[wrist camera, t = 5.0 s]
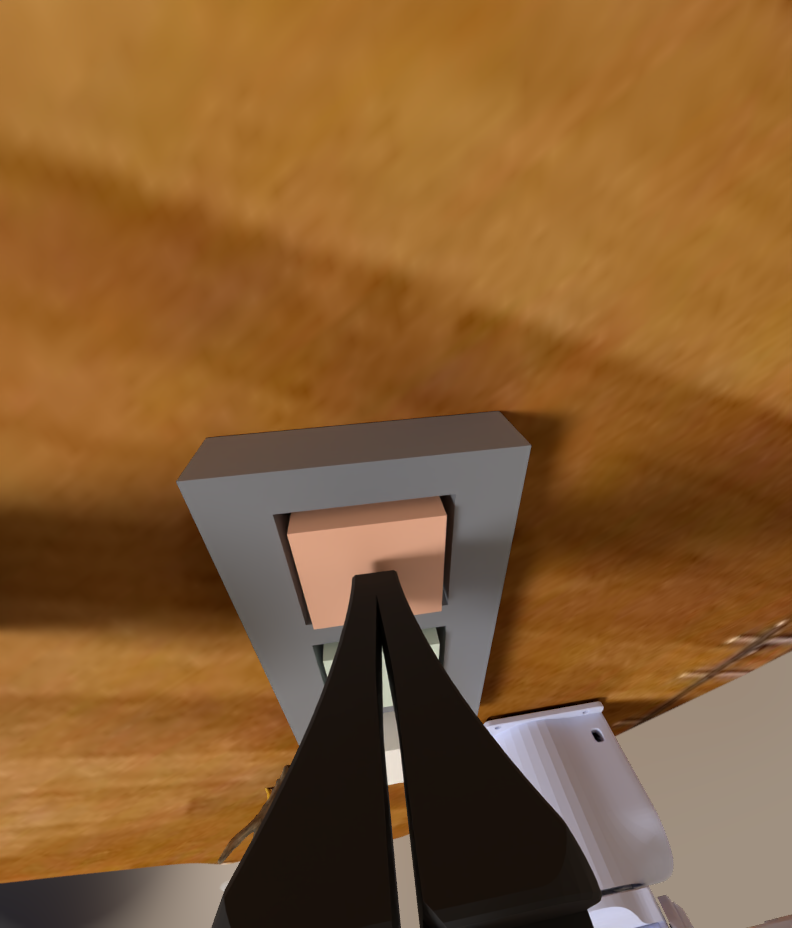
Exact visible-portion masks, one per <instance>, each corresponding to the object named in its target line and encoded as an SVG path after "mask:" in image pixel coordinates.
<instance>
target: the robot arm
mask: <svg viewBox="0 0 792 928" xmlns="http://www.w3.org/2000/svg"><path fill="white" fill-rule="evenodd" d="M382 648H383V654H384V659H385V665H386V670H387V675H388V681H389V686H390V691H391V697H392V702H393V707H394V713H395V718H396V724H397V730H398V737H399V745H400V753H401V762H402V771H403V780H404V789H405V798H406V807H407V816H408V824H409V833H410V842H411V851H412V860H413V869H414V877H415V887H416V896H417V905H418V914H419V924H420V928H669V927H668V925H667V923H666V920H665V918H664V916H663V914H662V912H661V910H660V908H659V906H658V904H657V902H656V900H655V898H654V896H653V893H652V891H651V889H650V888H649V885H653V884H657V883H661V882H664V881H666V880H668V879H669V878H670V877H671V875H672V872H673V856H672V851H671V848H670V844H669V841H668V838H667V836H666V833H665V830H664V828H663V825H662V823H661V820H660V819H659V816H658V814H657V812H656V810H655V808H654V806H653V804H652V802H651V801H650V799H649V797H648V795H647V793H646V792H645V790H644V788H643V786H642V784H641V783H640V781H639V779H638V777H637V775H636V774H635V772H634V770H633V768H632V766H631V765H630V763H629V761H628V759H627V757H626V756H625V754H624V752H623V750H622V748H621V747H620V745H619V743H618V741H617V739H616V738H615V736H614V734H613V732H612V730H611V729H610V727H609V725H608V723H607V721H606V720H605V718H604V716H603V714H602V710H603V708H604V707H603V705H602V703H601V702H599V701H597V702H591V703H585V704H579V705H574V706H568V707H562V708H557V709H551V710H545V711H540V712H534V713H528V714H523V715H517V716H511V717H506V718H500V719H494V720H489V721H487V722H485V723H484V725H483V723H482V722H481V721H480V719H479V718H478V717H477V716H476V714H475V713H474V711H473V710H472V709H471V707H470V706H469V704H468V703H467V702H466V700H465V699H464V698H463V696H462V695H461V693H460V692H459V690H458V689H457V687H456V686H455V684H454V683H453V681H452V680H451V678H450V677H449V675H448V674H447V672H446V671H445V669H444V668H443V666H442V664H441V663H440V661H439V659H438V658H437V656H436V654H435V653H434V651H433V649H432V648H431V646H430V644H429V643H428V641H427V639H426V637H425V635H424V634H423V632H422V630H421V628H420V626H419V624H418V622H417V620H416V618H415V616H414V614H413V612H412V610H411V608H410V606H409V604H408V601H407V599H406V597H405V594H404V592H403V589H402V587H401V584H400V581H399V578H398V574H397V572H396V571H394V570H390V571H382V572H374V573H367V574H359V575H355V576H354V577H352V586H351V593H350V599H349V604H348V609H347V613H346V618H345V621H344V625H343V629H342V632H341V636H340V640H339V643H338V647H337V650H336V653H335V656H334V659H333V662H332V665H331V668H330V671H329V674H328V677H327V680H326V682H325V685H324V688H323V690H322V693H321V696H320V698H319V701H318V703H317V706H316V708H315V711H314V713H313V716H312V718H311V720H310V723H309V725H308V727H307V730H306V732H305V734H304V736H303V739H302V741H301V743H300V745H299V748H298V750H297V752H296V754H295V756H294V759H293V761H292V763H291V765H290V767H289V769H288V771H287V773H286V775H285V777H284V779H283V781H282V783H281V785H280V787H279V789H278V791H277V793H276V795H275V797H274V799H273V801H272V803H271V805H270V807H269V809H268V811H267V813H266V815H265V817H264V819H263V821H262V823H261V825H260V827H259V829H258V830H257V832H256V834H255V836H254V838H253V839H252V841H251V843H250V845H249V847H248V849H247V850H246V852H245V854H244V856H243V858H242V859H241V861H240V863H239V865H238V867H237V869H236V870H235V872H234V874H233V876H232V878H231V879H230V881H229V883H228V885H227V887H226V889H225V891H224V894H223V897H222V899H221V902H220V905H219V908H218V911H217V913H216V916H215V919H214V922H213V925H212V928H401V926H400V925H401V924H400V914H399V903H398V892H397V881H396V870H395V859H394V849H393V837H392V826H391V814H390V803H389V792H388V781H387V770H386V758H385V747H384V730H383V680H382ZM658 899H659V901H660V903H661V906H662V908H663V910H664V912H665V914H666V916H667V918H668V920H669V922H670V924H669V925H670V927H671V928H693V926H692V924H691V922H690V920H689V919H688V917H687V915H686V913H685V912H684V910H683V909H682V908H681V907H680V906H678V905H677V904H676V903H674V902H671V900H670V899H669V897H668V896H666V895H663V896H660V897H658ZM749 928H792V915H788V916H784V917H780V918H776V919H772V920H768V921H765V923H764V924H760V925H756V926H753V927H749Z"/></svg>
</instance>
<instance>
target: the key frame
mask: <svg viewBox="0 0 792 928" xmlns="http://www.w3.org/2000/svg"><path fill="white" fill-rule="evenodd" d="M530 450H531V444H530V443H529V442H528V441H527V440H526V439H525V438H524V437H523V436H522V435H521V434H520V433H519V432H518V431H517V429H516V428H515V427H514V426H513V425H512V424H511V423H510V422H509V421H508V420H507V419H506V418H505V417H504V416H503V415H502V414H501V413H500V411H494V412H483V413H472V414H462V415H451V416H440V417H429V418H418V419H407V420H396V421H385V422H374V423H364V424H353V425H342V426H331V427H320V428H309V429H298V430H287V431H276V432H266V433H255V434H244V435H233V436H222V437H211V438H206V439H205V441H204V442H203V443H202V445H201V446H200V448H199V449H198V451H197V452H196V454H195V455H194V456H193V458H192V459H191V461H190V462H189V464H188V465H187V467H186V468H185V469H184V471H183V472H182V474H181V475H180V477H179V478H178V480H177V481H176V483H177V485H178V487H179V489H180V491H181V493H182V495H183V498H184V500H185V502H186V504H187V506H188V508H189V510H190V513H191V515H192V517H193V519H194V521H195V523H196V525H197V528H198V530H199V532H200V534H201V536H202V538H203V540H204V543H205V545H206V547H207V549H208V551H209V553H210V555H211V558H212V560H213V562H214V564H215V566H216V568H217V570H218V573H219V575H220V577H221V579H222V581H223V583H224V585H225V588H226V590H227V592H228V594H229V596H230V598H231V600H232V603H233V605H234V607H235V609H236V611H237V613H238V615H239V618H240V620H241V622H242V624H243V626H244V628H245V630H246V633H247V635H248V637H249V639H250V641H251V643H252V645H253V648H254V650H255V652H256V654H257V656H258V658H259V660H260V663H261V665H262V667H263V669H264V671H265V673H266V675H267V678H268V680H269V682H270V684H271V686H272V688H273V690H274V693H275V695H276V697H277V699H278V701H279V703H280V705H281V708H282V710H283V712H284V714H285V716H286V718H287V720H288V723H289V725H290V727H291V729H292V731H293V733H294V735H295V737H296V740H297V742H298V744H299V745H300V743H301V741H302V739H303V736H304V734H305V732H306V730H307V727H308V725H309V723H310V720H311V718H312V716H313V713H314V711H315V708H316V706H317V703H318V701H319V698H320V696H321V693H322V690H323V688H324V685H325V682H326V680H327V674H326V670H325V667H324V663H323V648H324V644H326V643H333V642H339V640H340V636H341V632H342V629H343V625H342V626H335V627H328V628H321V629H315V630H314V628H313V625H312V621H311V617H310V614H309V610H308V607H307V603H306V600H305V596H304V593H303V589H302V586H301V582H300V579H299V575H298V571H297V568H296V564H295V561H294V557H293V554H292V550H291V547H290V543H289V540H288V536H287V532H288V526H289V521H290V515H291V513H292V512H300V511H309V510H318V509H327V508H336V507H345V506H353V505H362V504H371V503H380V502H389V501H398V500H406V499H415V498H424V497H433V496H440V499H441V502H442V504H443V507H444V509H445V512H446V514H447V521H446V539H445V557H444V575H443V593H442V611H439V612H432V613H425V614H418V615H414V616H415V618H416V620H417V622H418V624H419V626H420V628H421V629H427V628H434V627H436V631H437V635H438V639H439V643H440V646H439V661H440V663H441V664H442V666H443V668H444V669H445V671H446V672H447V674H448V675H449V677H450V678H451V680H452V681H453V683H454V684H455V686H456V687H457V689H458V690H459V692H460V693H461V695H462V696H463V698H464V699H465V700H466V702H467V703H468V704H469V706H470V707H471V709H472V710H473V711H474V713H475V714H476V716H477V714H478V709H479V704H480V699H481V694H482V689H483V684H484V679H485V674H486V669H487V664H488V659H489V654H490V649H491V644H492V639H493V634H494V630H495V625H496V620H497V615H498V610H499V605H500V600H501V595H502V590H503V585H504V580H505V575H506V570H507V565H508V560H509V555H510V550H511V545H512V540H513V535H514V530H515V525H516V520H517V515H518V510H519V505H520V500H521V495H522V490H523V485H524V480H525V475H526V470H527V465H528V460H529V455H530ZM392 711H394V707H393V706H388V707H383V713H386V712H392Z"/></svg>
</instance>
